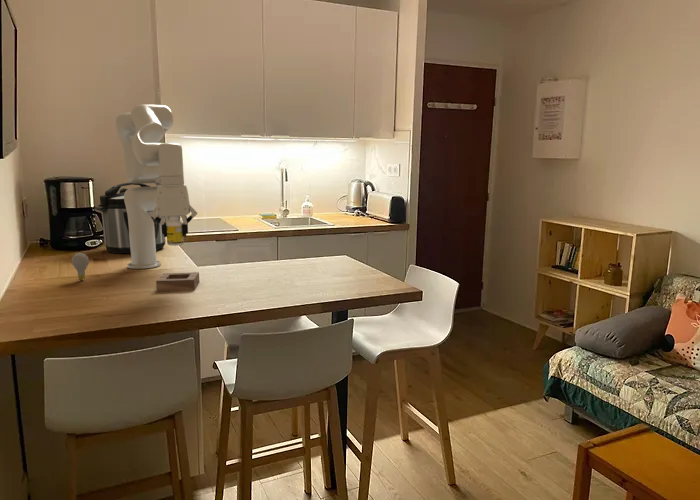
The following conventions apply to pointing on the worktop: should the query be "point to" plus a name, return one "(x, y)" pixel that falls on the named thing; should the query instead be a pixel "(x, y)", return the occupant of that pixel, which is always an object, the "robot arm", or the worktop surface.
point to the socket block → (177, 281)
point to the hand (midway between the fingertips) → (175, 235)
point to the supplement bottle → (174, 231)
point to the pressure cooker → (121, 221)
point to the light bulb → (80, 264)
